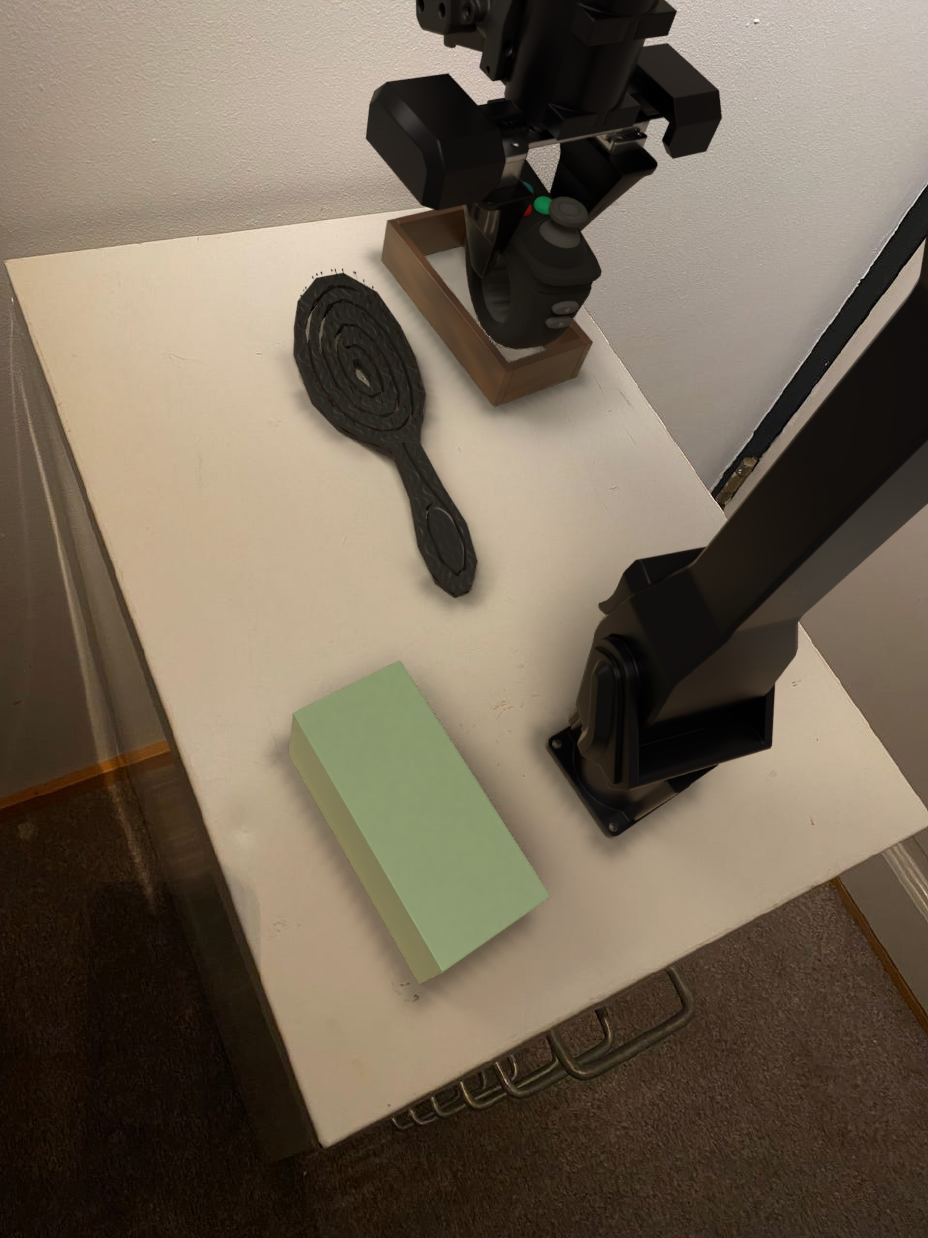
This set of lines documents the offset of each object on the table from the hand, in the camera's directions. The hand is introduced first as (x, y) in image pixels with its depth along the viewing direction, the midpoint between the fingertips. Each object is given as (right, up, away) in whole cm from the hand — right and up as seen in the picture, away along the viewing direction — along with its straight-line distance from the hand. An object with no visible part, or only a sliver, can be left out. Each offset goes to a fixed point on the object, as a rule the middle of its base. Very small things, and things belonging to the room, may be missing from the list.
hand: (512, 263), depth 49 cm
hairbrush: (-8, -9, +7) cm, 14 cm away
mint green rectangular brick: (-6, -32, -5) cm, 33 cm away
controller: (-1, -2, +4) cm, 4 cm away
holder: (-2, +2, +15) cm, 15 cm away
